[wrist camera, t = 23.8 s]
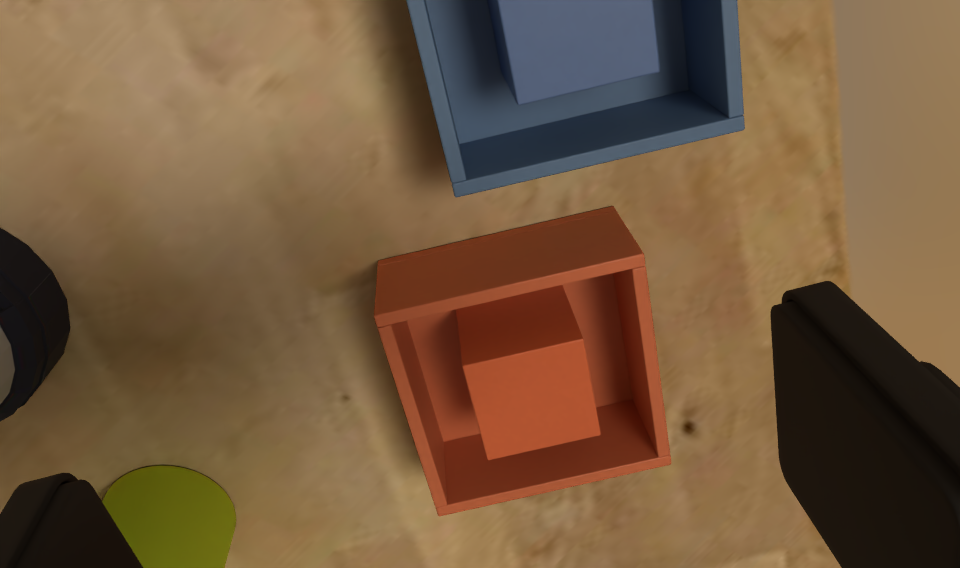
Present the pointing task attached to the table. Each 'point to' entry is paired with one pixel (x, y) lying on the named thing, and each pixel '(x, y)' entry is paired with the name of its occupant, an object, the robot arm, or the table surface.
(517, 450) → the terracotta block
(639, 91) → the blue bin
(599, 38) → the blue block
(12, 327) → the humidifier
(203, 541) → the soap dispenser
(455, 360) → the terracotta bin
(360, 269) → the table surface
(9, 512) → the robot arm
